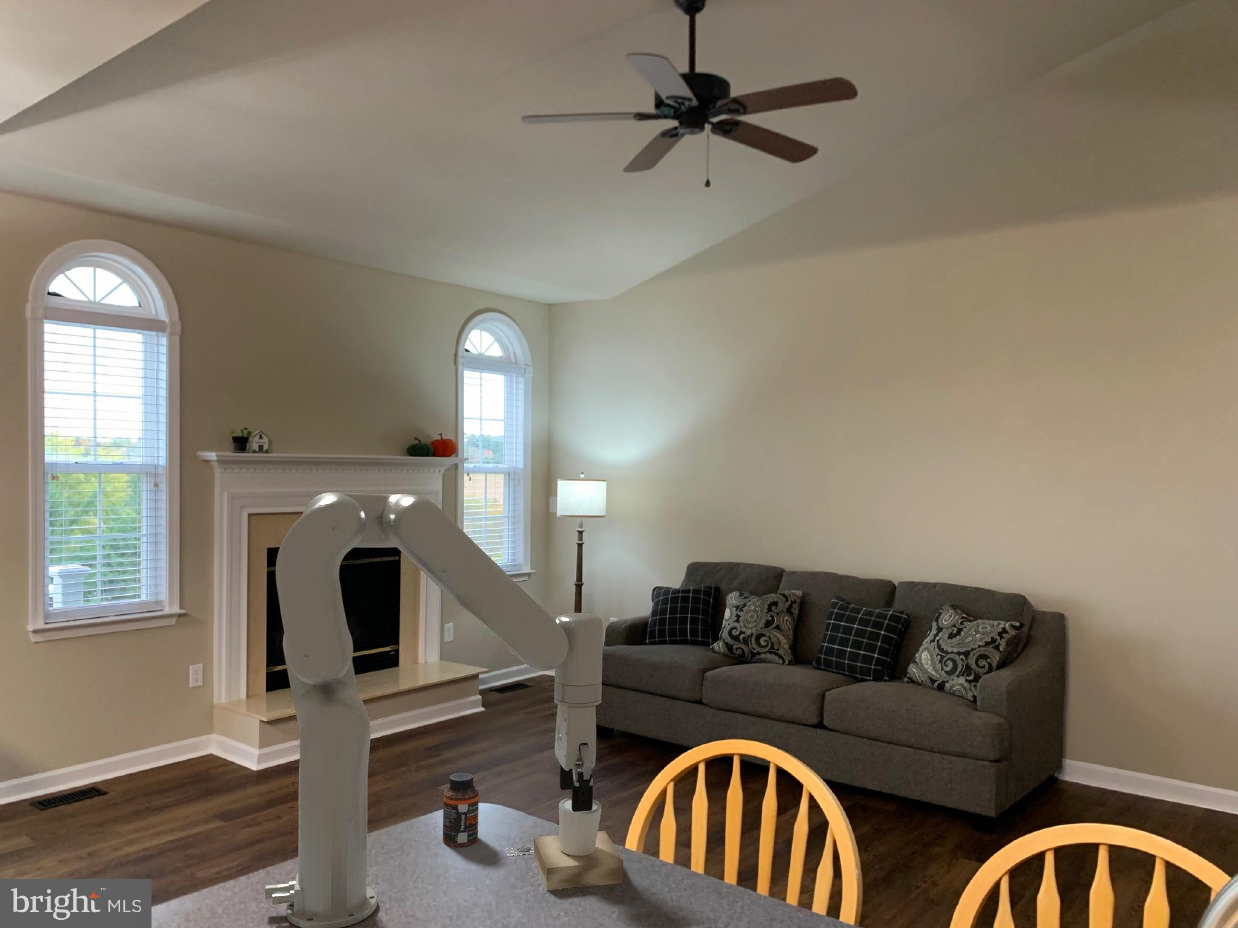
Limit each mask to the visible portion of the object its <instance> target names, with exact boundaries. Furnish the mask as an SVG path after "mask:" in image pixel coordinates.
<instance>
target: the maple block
mask: <svg viewBox="0 0 1238 928" xmlns="http://www.w3.org/2000/svg"><path fill="white" fill-rule="evenodd" d="M533 845H534V854H533V858H535V859H534V861H535V863H537V864H536V866H537V868H538V871H539V875H540V877H541V880H542V879H543V880H542V882H543V885H544V887H546V888H545V890H546V891H547V890H549V891H555V890H554V889H558V890H563V889H562V888H568V889H573V888H572V887H578V888H584V886H587V887H595V886H594V885H597V886H605V885H614V884H615V885H617V884H623V883H624V859H623V857H622V856H621V854H620V852H619V851H618V849H617V848H616V847H615V845H614V843H613V842H612V840H611V838H610V836H609V835H608V833H607V832H606V830H598V833H597V839H596V846H595V850H594V852H593V853H591V854H589V855H584V856H574V855H569V854H566V853H564V852H563V851H562V850H561V849H560V834H558V835H557V834H556V835H546V836H545V835H544V836H543V835H542V836H534V837H533ZM591 885H593V886H591ZM559 888H561V889H559Z"/></svg>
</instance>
